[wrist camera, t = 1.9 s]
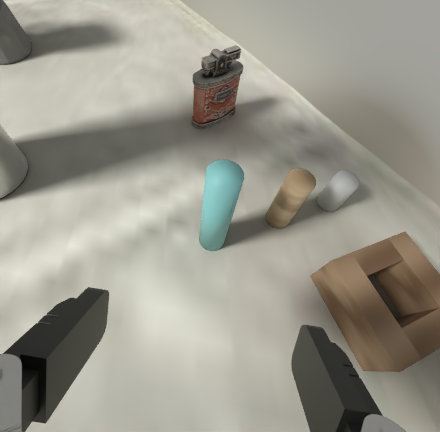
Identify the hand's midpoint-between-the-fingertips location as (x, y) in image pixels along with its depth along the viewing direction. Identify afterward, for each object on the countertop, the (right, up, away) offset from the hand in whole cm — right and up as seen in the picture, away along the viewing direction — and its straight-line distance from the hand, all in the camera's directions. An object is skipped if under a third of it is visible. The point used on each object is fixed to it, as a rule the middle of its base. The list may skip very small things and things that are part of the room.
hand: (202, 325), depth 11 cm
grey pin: (+15, +6, +25) cm, 30 cm away
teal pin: (0, +2, +20) cm, 20 cm away
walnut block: (+18, -5, +18) cm, 26 cm away
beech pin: (+8, +4, +22) cm, 24 cm away
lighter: (0, +20, +31) cm, 37 cm away
